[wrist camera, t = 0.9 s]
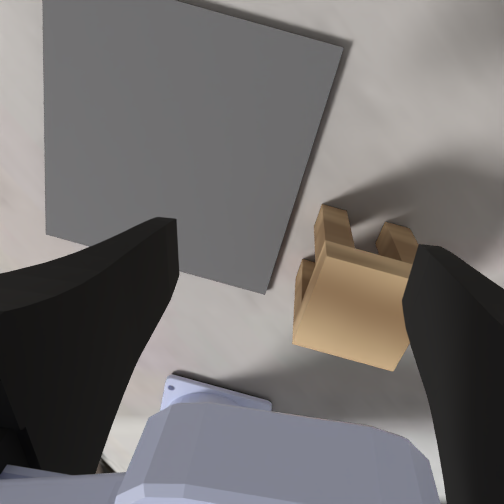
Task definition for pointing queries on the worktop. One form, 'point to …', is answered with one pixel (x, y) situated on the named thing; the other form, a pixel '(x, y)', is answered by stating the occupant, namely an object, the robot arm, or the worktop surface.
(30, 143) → the worktop surface
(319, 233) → the tan notched block
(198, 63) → the mat
